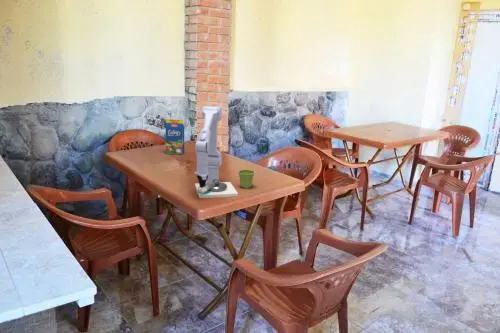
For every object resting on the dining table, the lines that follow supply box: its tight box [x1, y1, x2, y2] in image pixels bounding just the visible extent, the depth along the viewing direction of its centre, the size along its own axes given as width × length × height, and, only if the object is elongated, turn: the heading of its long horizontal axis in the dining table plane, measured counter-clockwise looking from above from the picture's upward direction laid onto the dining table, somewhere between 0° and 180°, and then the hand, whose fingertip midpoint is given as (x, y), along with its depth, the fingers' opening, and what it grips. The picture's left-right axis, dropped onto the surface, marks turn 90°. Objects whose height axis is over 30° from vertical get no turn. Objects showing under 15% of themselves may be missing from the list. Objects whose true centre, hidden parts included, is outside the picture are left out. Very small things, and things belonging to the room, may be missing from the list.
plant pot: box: [237, 169, 256, 189], centre depth 228 cm, size 9×9×9 cm
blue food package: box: [165, 118, 185, 156], centre depth 294 cm, size 6×12×25 cm, turn 84°
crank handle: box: [197, 179, 227, 194], centre depth 215 cm, size 22×12×4 cm, turn 150°
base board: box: [194, 181, 239, 199], centre depth 220 cm, size 20×20×2 cm
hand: (202, 188), depth 213 cm, fingers closed, pressing on crank handle
